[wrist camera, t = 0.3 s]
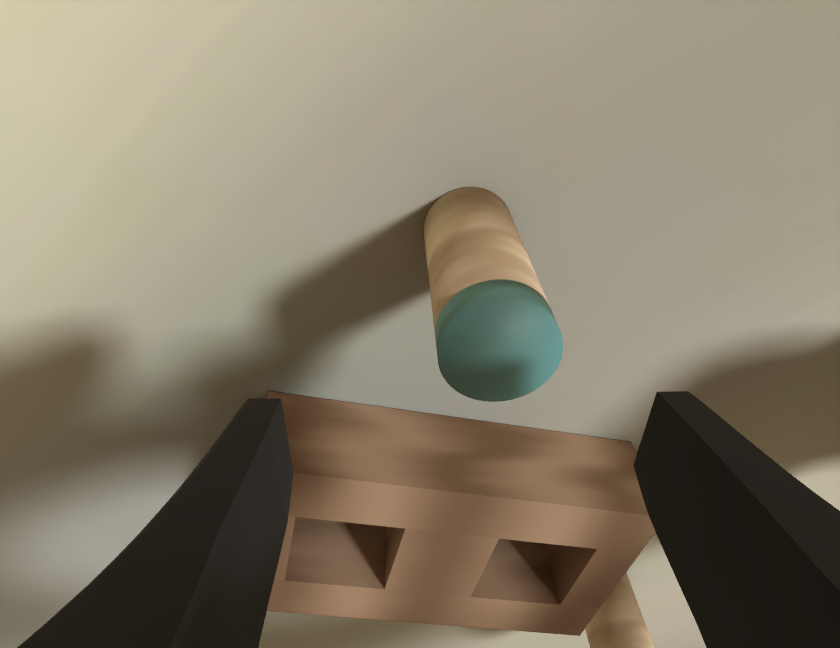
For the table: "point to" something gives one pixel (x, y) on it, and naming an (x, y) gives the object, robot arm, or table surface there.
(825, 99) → the table surface
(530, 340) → the peg
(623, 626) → the peg
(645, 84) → the table surface
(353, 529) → the socket block
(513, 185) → the table surface
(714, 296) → the table surface
